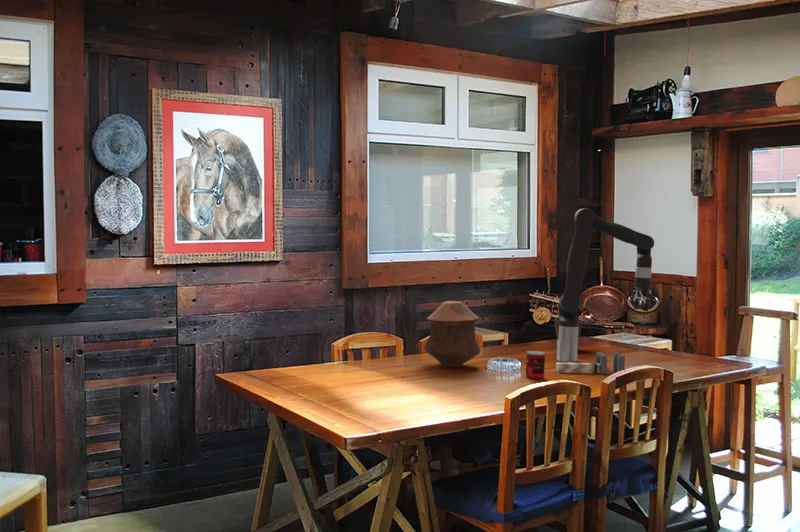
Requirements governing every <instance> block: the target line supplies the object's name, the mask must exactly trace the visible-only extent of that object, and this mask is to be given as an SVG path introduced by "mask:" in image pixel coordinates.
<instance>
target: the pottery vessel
mask: <svg viewBox="0 0 800 532" xmlns="http://www.w3.org/2000/svg"><path fill="white" fill-rule="evenodd" d="M426 319H427V321H429V336H428V338H427V339H426V341H425V343H424V345H423V350H424V352H426V353H428V354H429V355H430V356H431V357H432V358H433V359H435V360H436V361H438V362H439V364H440V365H441V366H442V367H446V368H460V367H462V366H463V365H464V364H465V363H467V362H469V361H470V360H473V358H475V357H477V356H478V355H479V354H480V353H481V347H480V345H479V342H478V340H477V338H476V337H477V336H476V320H479V319H480V317H479V316H478V315H477V314H476V313H474V312H473V311H472V310H471V309H470V308H469V307H468V306H467V305H466V304H465V303H463V302H462V301H460V300H447V301H446V300H445V301H443V302H442V303H441V305H439V306H438V307H437V308H436V309H435V310H434V311H433V312H431V314H429V315H428V316H427V317H426Z"/></svg>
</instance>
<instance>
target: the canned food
mask: <svg viewBox="0 0 800 532" xmlns="http://www.w3.org/2000/svg"><path fill="white" fill-rule="evenodd" d="M525 359H526V360H525V362H526V364H525V376H526V378H527V379H530V380H531V379H532V380H543V379H544V377H545V368H546V367H545V365H546V364H545V363H546V361H545V360H546V353H545V352H544V351H539V350H528V351H526V358H525Z"/></svg>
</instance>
